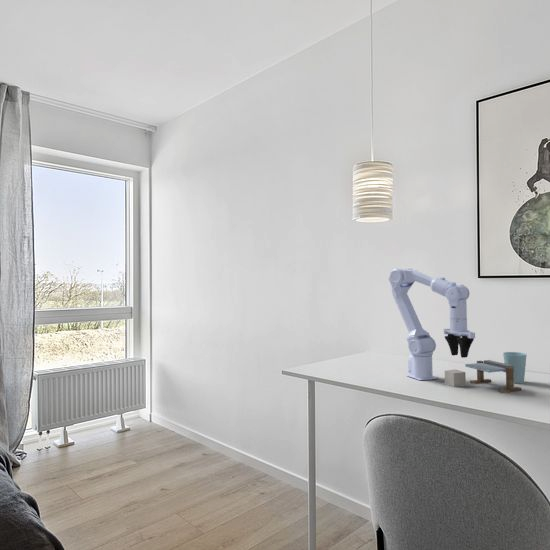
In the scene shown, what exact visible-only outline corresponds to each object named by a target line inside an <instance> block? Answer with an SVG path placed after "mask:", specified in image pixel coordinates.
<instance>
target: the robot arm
mask: <svg viewBox="0 0 550 550" xmlns="http://www.w3.org/2000/svg"><path fill="white" fill-rule="evenodd" d="M388 281H389V283H390V286H391V294H392V296H393V299H394V302H395V304H396V305H397V308H398V310H399V314H400V315H401V317H402V320H403V322H404V324H405V326H406V329H407V331H408V336H407V337H406V340H407V343H408V347H407V348H408V350H409V352H410V353H411V354H410V355H409V356H408V359H407V367H408V368H407V370H408V371H407V372H408V373H407V374H406V376H407V377H409V378H412V379H415V380H418V381H428V380H435V379H436V380H437V379H438V376H434V375H433V372H434V371H433V354H434V352H435V350H436V347H437V344H436V341H435V339H434V338H433V337H432V336H431V335H430V333H429V332H428V331H427V330H425V329H424V328H423V327H422V324H421V321H420V319H419V317H418V315H417V313H416V311H415V308H414V306H413V304H412V301H411V299H410V297H409V295H408V292H409V291H410V290H411V288H412V287H413V285H414V283H415V282H417V283H420V284H422V285H425V286H427V287H429V288H430V289H431V290H432V292H433V293H436V294H439V295H441V296H443V297H445V298H446V299H447V300H448V305H449V328H443V335H444V339H445V340H446V342H447V345H448V346H449V350H450V353H451V354H450V355H451V356H458V354H459V353H460V357H461V358H468V356H469V351H470V348H471V346H472V344H473V342H474V339H476V332H473V331H470V330H468V312H467V311H468V309H467V308H468V307H467V300H468V299H469V297H470V290H469V288H468V287H467V286H465V285H464V284H459V285H457V282H455V281H452V282H451V281H449V280H446V277H445V276H440V277H436V278H433V277H432V276H429V275H427V274H424V273H423V272H420V271H419V270H417V269H413V268H394V269H392V270H391V272H390V274H389V276H388ZM459 351H460V352H459Z"/></svg>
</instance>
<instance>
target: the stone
mask: <svg viewBox="0 0 550 550" xmlns="http://www.w3.org/2000/svg"><path fill="white" fill-rule="evenodd" d="M466 377H467V376H466V371H463V370H460V369H459V370H458V369H449V370H448V369H447V370H444V385H447V386H450V387H453V388H455V387H456V388H457V387H458V386H459V387H466V385H467V383H466V379H467V378H466ZM459 387H458V388H459Z"/></svg>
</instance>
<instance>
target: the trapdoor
mask: <svg viewBox="0 0 550 550" xmlns="http://www.w3.org/2000/svg"><path fill="white" fill-rule="evenodd" d="M464 367H466V368H470V369H472V370H473V369H474V370H476V371H477V370H481V371H484V373H497V372H498V373H500V372H502V373H506V368H509V367H510V368H513V373H514V365H509V364H505V363H503V362H500V361H496V360H492V359H491V360H490V359H486V360H483V363H477V362H475V363H467V364H464Z"/></svg>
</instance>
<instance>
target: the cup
mask: <svg viewBox="0 0 550 550" xmlns="http://www.w3.org/2000/svg"><path fill="white" fill-rule="evenodd" d="M502 356H503V362H504V363H505V364H509V365H514V373H513V374H514V384H524V382H525V375H526V365H527V363H526V362H527V353H524V352H518V351H517V352H516V351H505V352H503V353H502Z"/></svg>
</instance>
